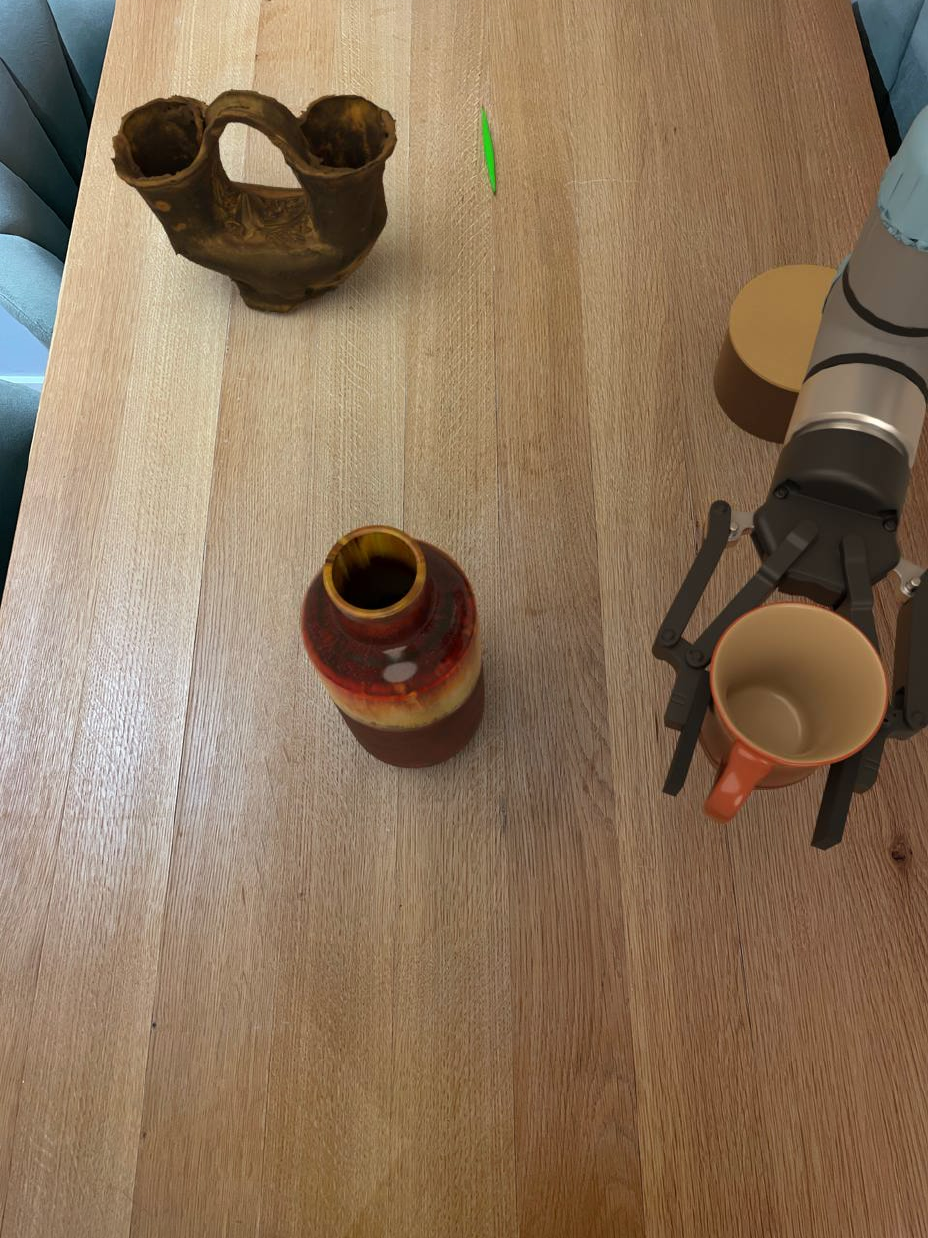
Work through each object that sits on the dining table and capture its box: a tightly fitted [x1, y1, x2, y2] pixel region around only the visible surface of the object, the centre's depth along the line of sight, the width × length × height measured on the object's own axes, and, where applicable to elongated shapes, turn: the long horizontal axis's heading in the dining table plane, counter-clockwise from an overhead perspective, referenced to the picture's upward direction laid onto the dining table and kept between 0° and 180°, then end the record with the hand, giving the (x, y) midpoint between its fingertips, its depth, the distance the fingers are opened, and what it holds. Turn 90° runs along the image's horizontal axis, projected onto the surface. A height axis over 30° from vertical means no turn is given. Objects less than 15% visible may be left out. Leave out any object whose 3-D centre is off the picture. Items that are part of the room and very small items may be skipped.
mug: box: [698, 601, 890, 825], centre depth 52 cm, size 12×9×10 cm
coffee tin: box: [713, 263, 838, 445], centre depth 83 cm, size 13×13×8 cm
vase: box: [299, 524, 486, 770], centre depth 64 cm, size 11×11×26 cm
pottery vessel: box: [110, 88, 398, 315], centre depth 85 cm, size 25×11×20 cm, turn 87°
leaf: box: [481, 103, 496, 196], centre depth 100 cm, size 1×14×1 cm, turn 5°
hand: (748, 815), depth 49 cm, fingers closed on mug, 7 cm apart
